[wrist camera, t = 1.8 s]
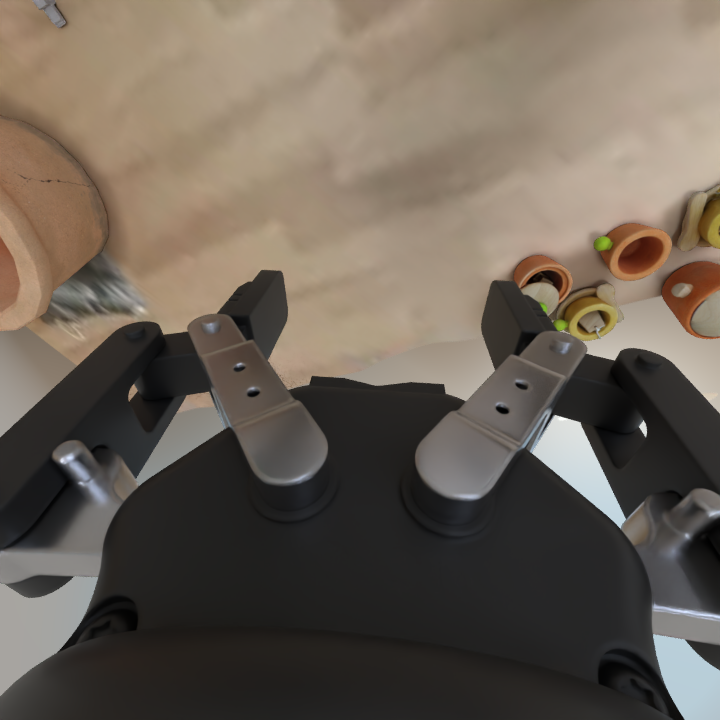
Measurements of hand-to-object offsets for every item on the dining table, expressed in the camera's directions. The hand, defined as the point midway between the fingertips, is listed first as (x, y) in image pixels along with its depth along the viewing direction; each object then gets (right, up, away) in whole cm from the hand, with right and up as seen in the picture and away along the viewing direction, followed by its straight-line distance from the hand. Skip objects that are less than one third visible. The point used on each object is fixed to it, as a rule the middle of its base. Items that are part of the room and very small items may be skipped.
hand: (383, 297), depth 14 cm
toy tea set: (+31, +8, +28) cm, 42 cm away
